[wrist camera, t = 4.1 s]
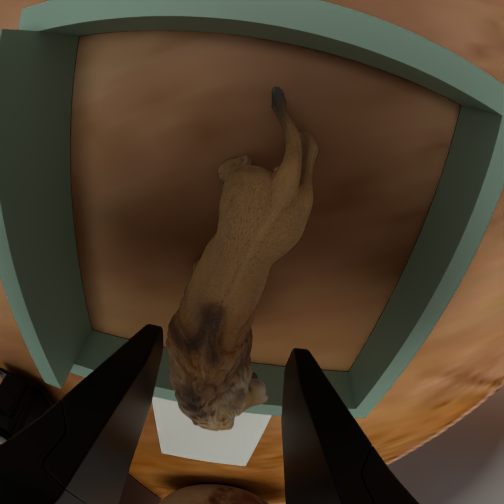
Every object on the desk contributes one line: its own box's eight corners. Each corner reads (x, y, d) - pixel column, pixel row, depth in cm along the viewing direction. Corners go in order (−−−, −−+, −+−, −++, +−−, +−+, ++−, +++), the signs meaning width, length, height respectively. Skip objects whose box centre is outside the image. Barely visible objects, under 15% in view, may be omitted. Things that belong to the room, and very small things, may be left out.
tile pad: (245, 461, 27) (245, 466, 27) (162, 448, 27) (161, 452, 26) (279, 392, 20) (279, 399, 19) (151, 371, 19) (148, 378, 19)
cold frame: (357, 382, 19) (369, 443, 15) (80, 337, 18) (50, 393, 14) (483, 92, 9) (559, 111, 5) (63, 15, 8) (-13, 6, 4)
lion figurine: (263, 327, 17) (261, 449, 10) (186, 313, 16) (153, 431, 10) (327, 99, 11) (408, 120, 4) (217, 76, 10) (152, 65, 4)
